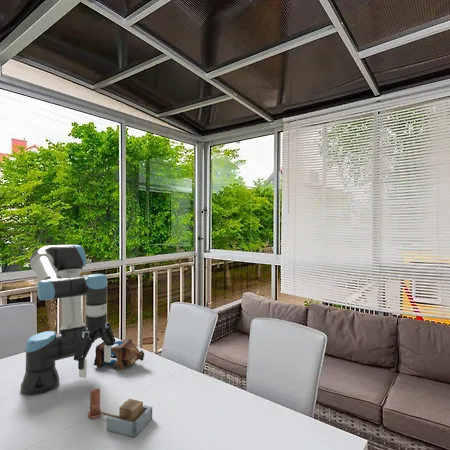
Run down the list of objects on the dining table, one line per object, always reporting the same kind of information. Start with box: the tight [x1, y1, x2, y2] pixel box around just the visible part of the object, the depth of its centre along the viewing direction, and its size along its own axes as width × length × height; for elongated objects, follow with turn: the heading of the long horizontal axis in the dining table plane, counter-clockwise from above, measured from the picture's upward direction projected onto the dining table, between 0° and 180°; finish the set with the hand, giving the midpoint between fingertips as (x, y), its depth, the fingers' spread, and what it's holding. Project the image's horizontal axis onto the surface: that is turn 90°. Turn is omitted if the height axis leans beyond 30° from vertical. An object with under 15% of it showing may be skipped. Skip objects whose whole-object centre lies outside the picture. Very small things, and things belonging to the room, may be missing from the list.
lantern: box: [93, 338, 145, 371], centre depth 164 cm, size 16×16×25 cm
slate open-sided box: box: [105, 400, 153, 438], centre depth 117 cm, size 12×11×4 cm
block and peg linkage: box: [87, 388, 144, 422], centre depth 119 cm, size 22×6×9 cm, turn 72°
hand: (95, 369), depth 122 cm, fingers open, 13 cm apart
